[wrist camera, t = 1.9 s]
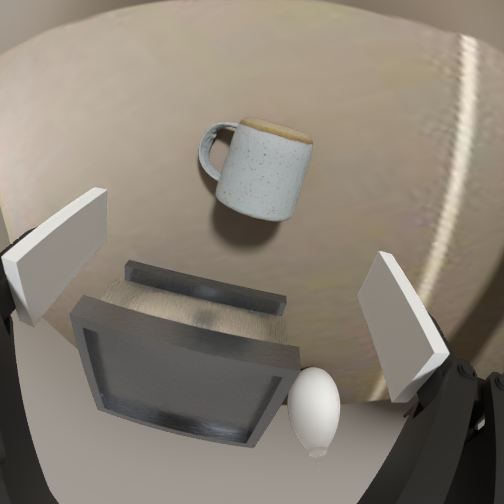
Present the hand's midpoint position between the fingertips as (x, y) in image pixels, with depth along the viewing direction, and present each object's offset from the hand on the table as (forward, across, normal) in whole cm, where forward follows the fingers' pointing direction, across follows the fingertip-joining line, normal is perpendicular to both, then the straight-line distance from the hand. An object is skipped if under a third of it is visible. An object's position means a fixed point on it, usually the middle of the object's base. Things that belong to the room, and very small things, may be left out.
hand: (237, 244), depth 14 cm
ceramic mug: (+19, 0, 0) cm, 19 cm away
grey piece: (+19, +3, +21) cm, 29 cm away
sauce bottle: (+19, -16, +30) cm, 39 cm away
